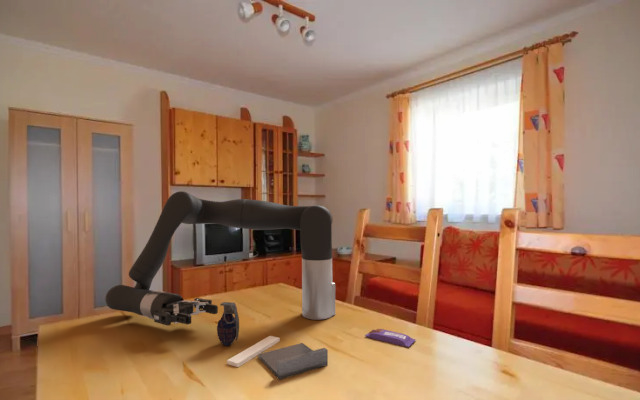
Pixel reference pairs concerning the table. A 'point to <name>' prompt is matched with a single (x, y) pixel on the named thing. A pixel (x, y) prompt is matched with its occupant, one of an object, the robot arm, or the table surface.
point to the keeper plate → (294, 360)
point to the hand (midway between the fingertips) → (204, 314)
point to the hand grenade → (228, 324)
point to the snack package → (391, 337)
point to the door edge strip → (252, 351)
